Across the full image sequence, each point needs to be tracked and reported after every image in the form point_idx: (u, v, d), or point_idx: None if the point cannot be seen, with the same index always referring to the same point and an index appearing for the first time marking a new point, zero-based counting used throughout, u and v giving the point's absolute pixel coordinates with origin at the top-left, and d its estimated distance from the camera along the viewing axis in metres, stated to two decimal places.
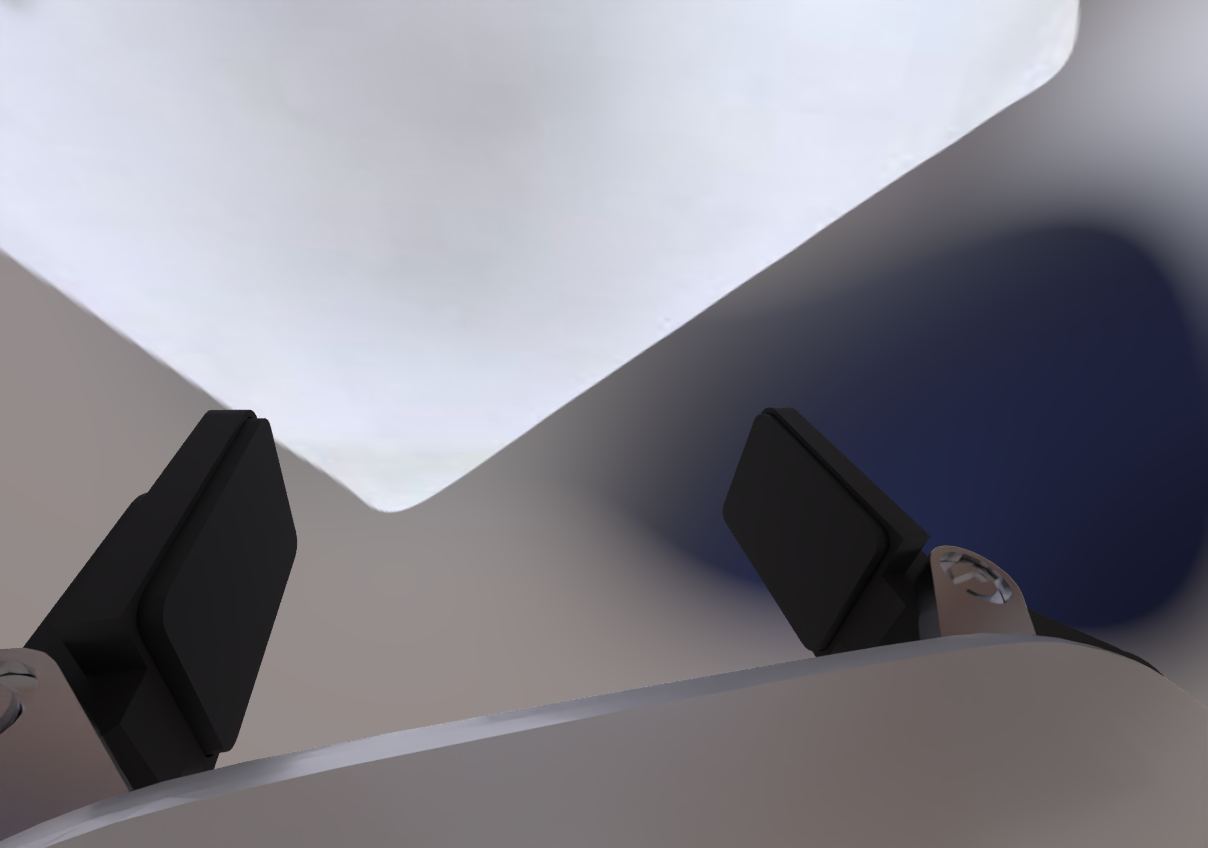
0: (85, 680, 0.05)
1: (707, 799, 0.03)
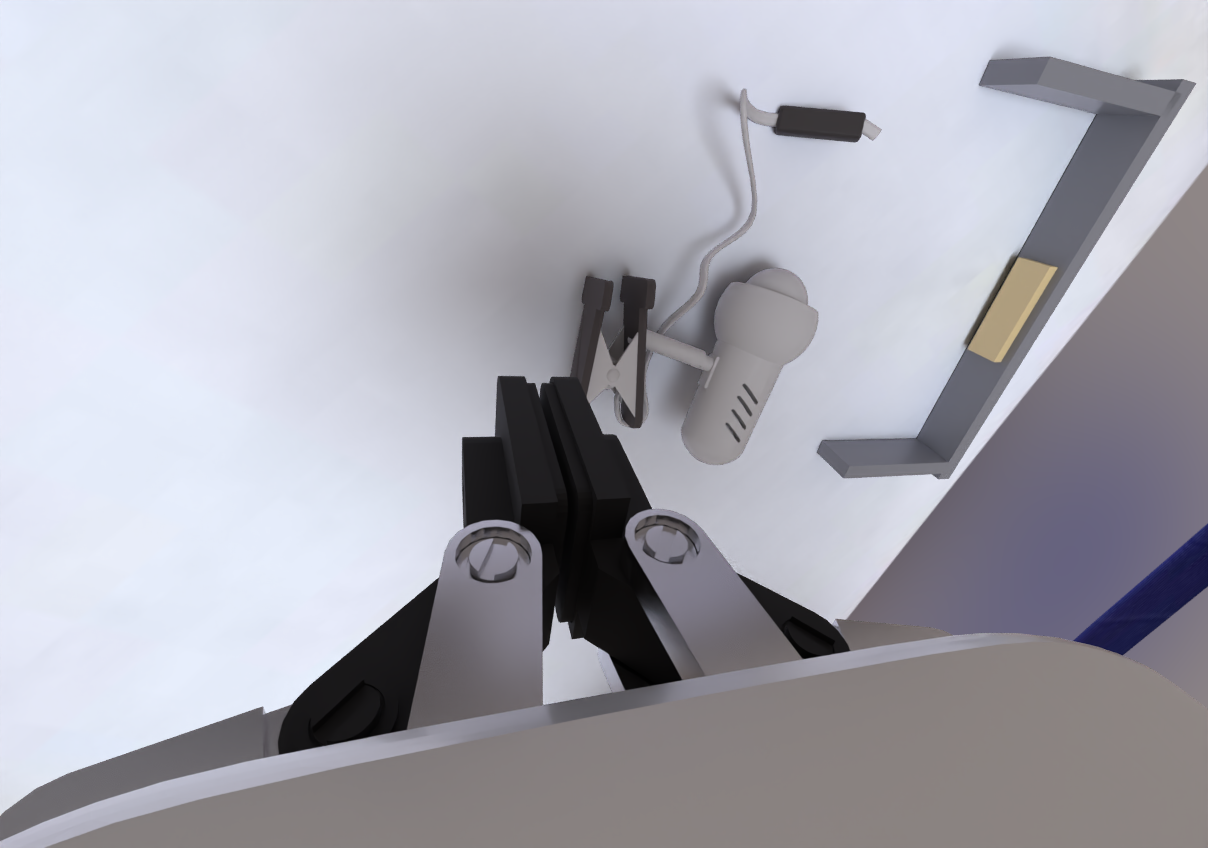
0: None
1: (707, 798, 0.03)
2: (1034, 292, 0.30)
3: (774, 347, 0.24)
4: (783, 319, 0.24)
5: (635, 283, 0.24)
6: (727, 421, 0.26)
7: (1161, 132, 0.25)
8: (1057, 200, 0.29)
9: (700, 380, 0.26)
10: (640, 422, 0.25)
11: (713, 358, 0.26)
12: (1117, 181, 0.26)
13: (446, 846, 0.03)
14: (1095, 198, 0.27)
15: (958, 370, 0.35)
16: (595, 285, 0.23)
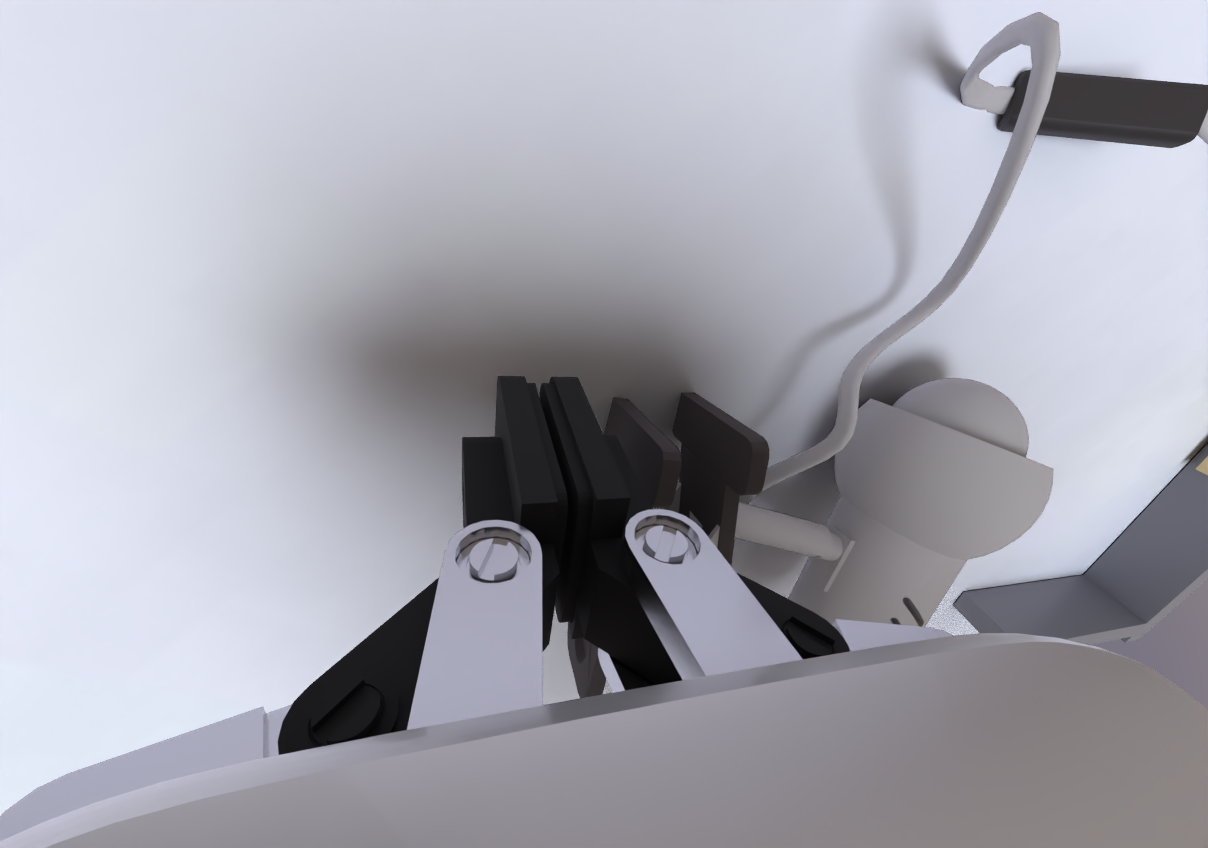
0: None
1: (707, 799, 0.03)
2: None
3: (976, 543, 0.13)
4: (1006, 499, 0.12)
5: (713, 426, 0.12)
6: None
7: None
8: None
9: (812, 571, 0.15)
10: None
11: (841, 539, 0.14)
12: None
13: (446, 846, 0.03)
14: None
15: (1169, 494, 0.23)
16: (636, 437, 0.11)
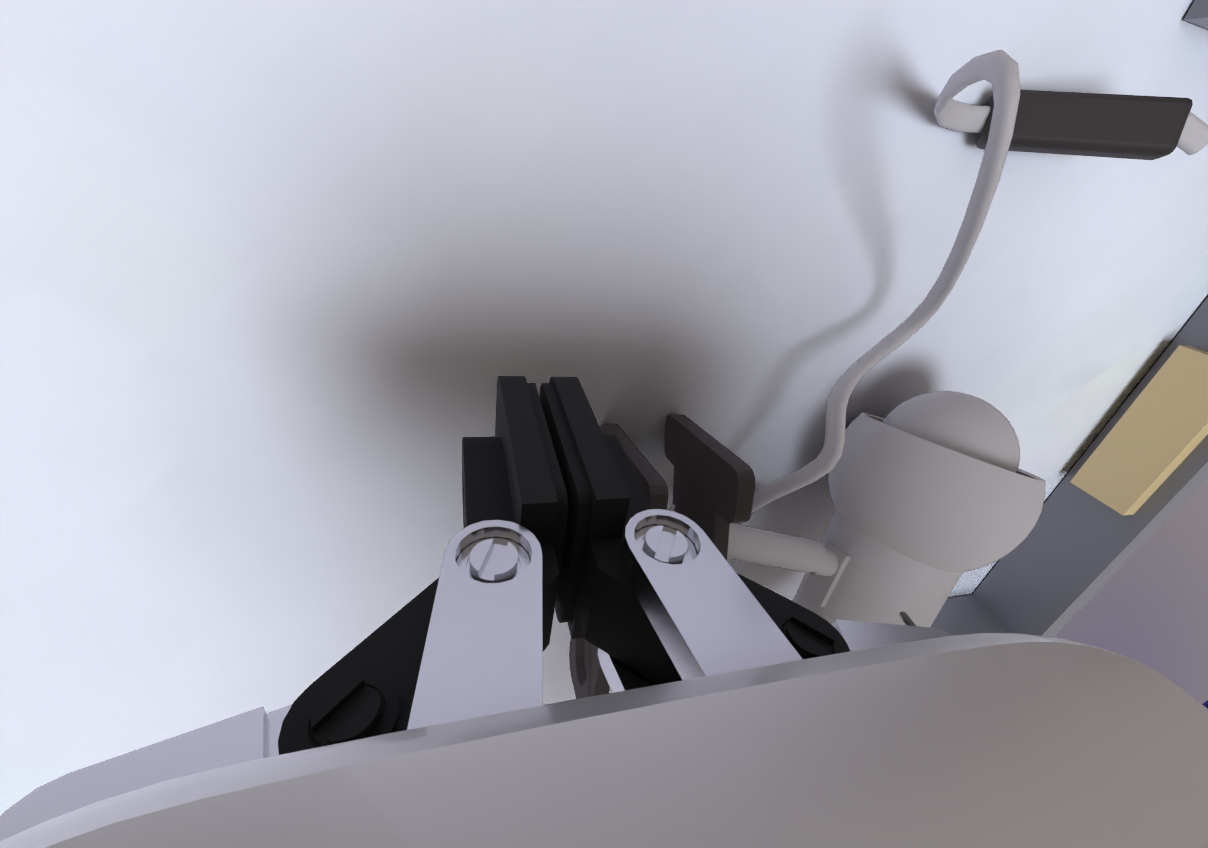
0: None
1: (707, 799, 0.03)
2: None
3: (969, 558, 0.13)
4: (996, 514, 0.12)
5: (701, 453, 0.12)
6: None
7: None
8: None
9: (809, 586, 0.15)
10: None
11: (836, 554, 0.14)
12: None
13: (446, 847, 0.03)
14: None
15: (1049, 508, 0.22)
16: None
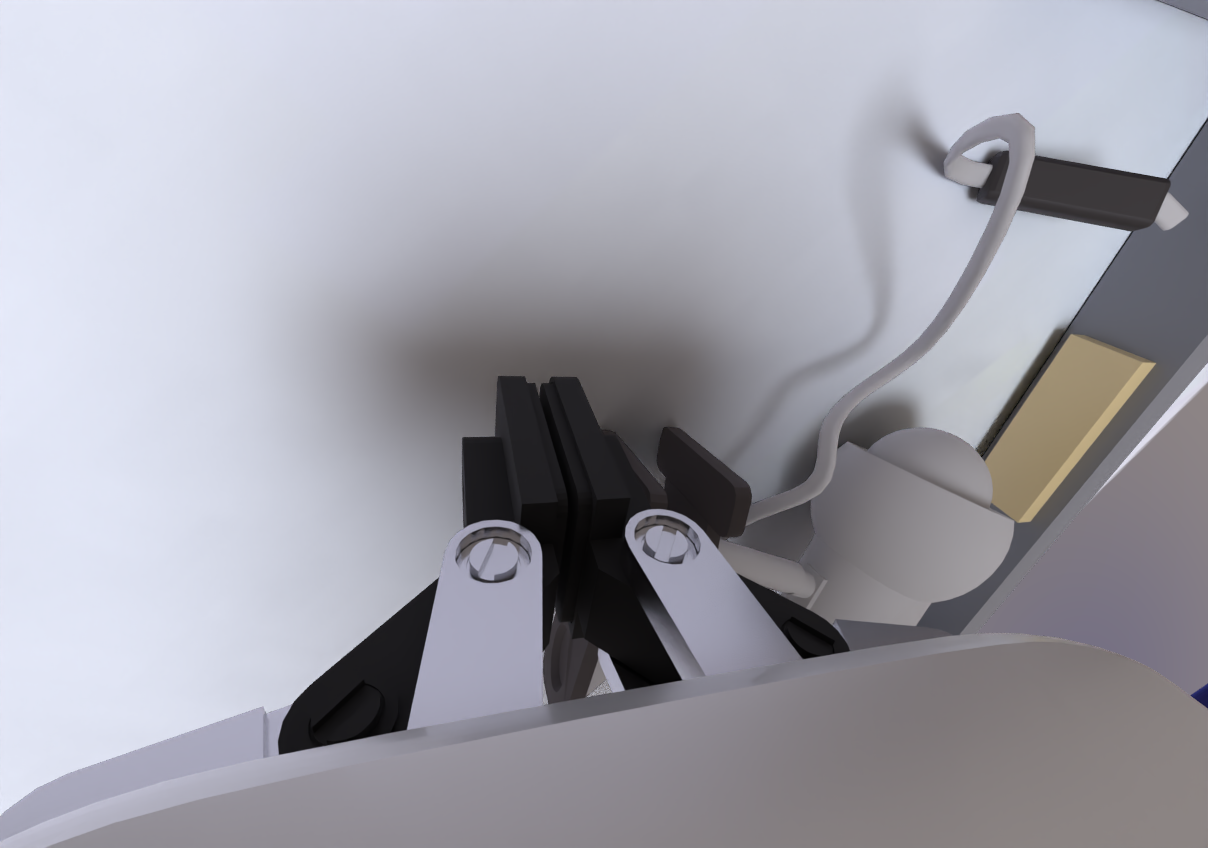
0: None
1: (707, 799, 0.03)
2: (1104, 408, 0.15)
3: (941, 589, 0.13)
4: (970, 549, 0.13)
5: (698, 466, 0.12)
6: None
7: None
8: (1157, 226, 0.14)
9: None
10: None
11: (814, 577, 0.15)
12: None
13: (446, 846, 0.03)
14: None
15: None
16: None
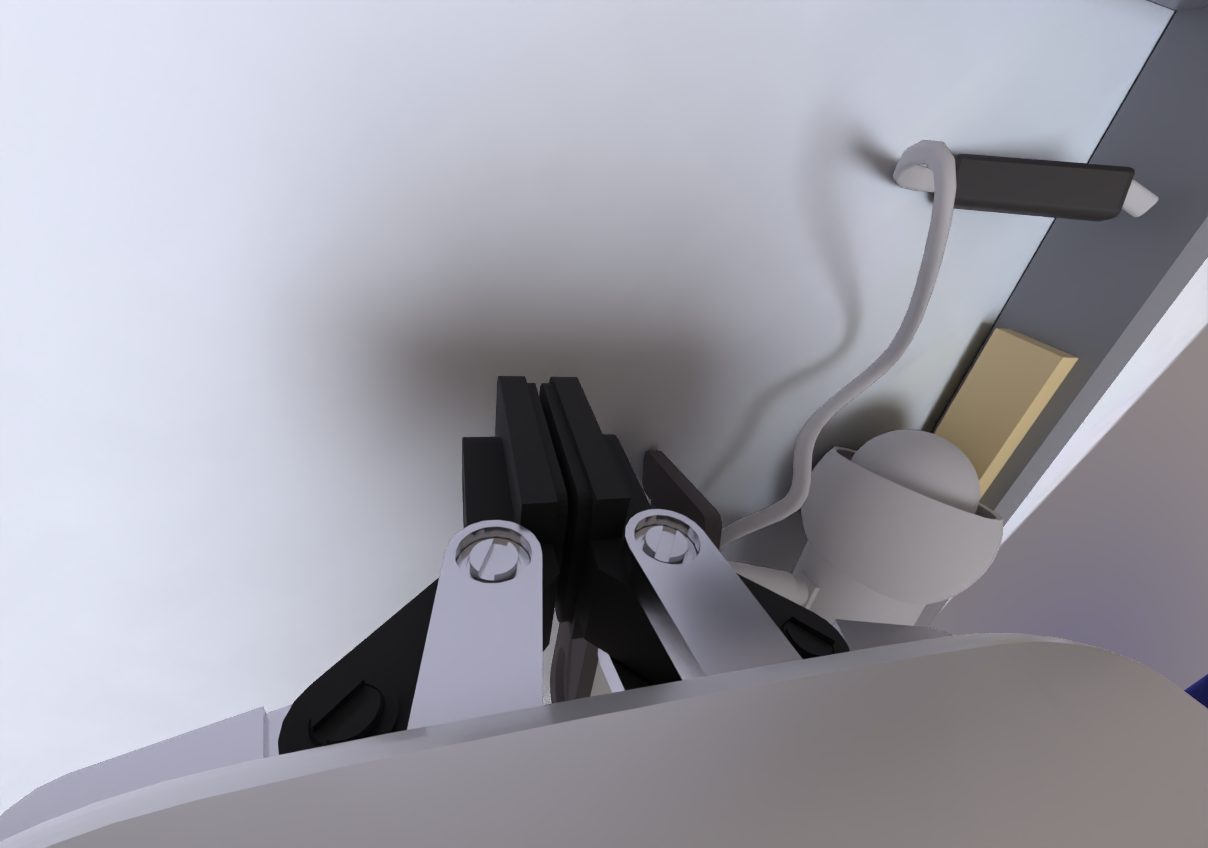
0: None
1: (707, 799, 0.03)
2: (1027, 406, 0.14)
3: (930, 592, 0.13)
4: (954, 553, 0.13)
5: (675, 492, 0.13)
6: None
7: None
8: None
9: None
10: None
11: (807, 585, 0.15)
12: None
13: (446, 846, 0.03)
14: (1171, 211, 0.12)
15: None
16: None
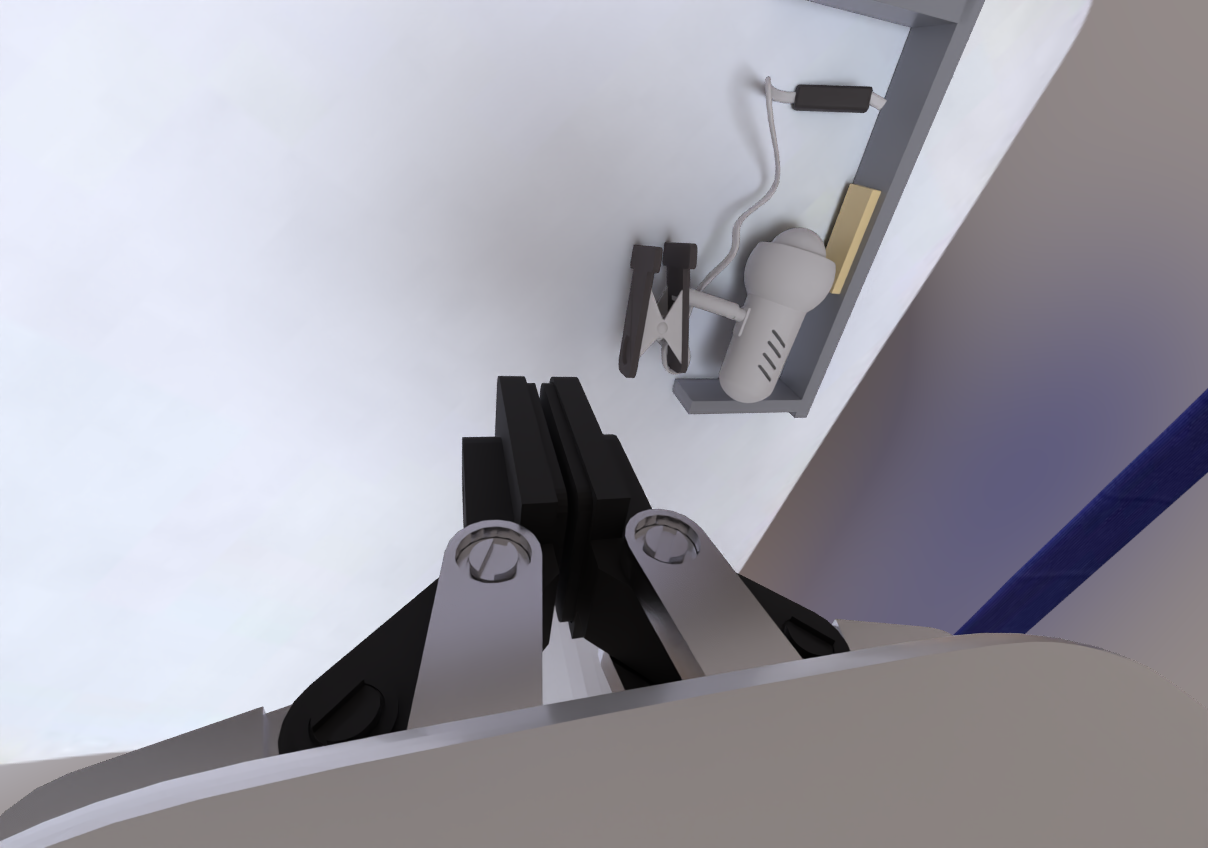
0: None
1: (707, 799, 0.03)
2: (861, 218, 0.29)
3: (798, 296, 0.28)
4: (806, 271, 0.28)
5: (678, 248, 0.28)
6: (759, 363, 0.30)
7: (962, 41, 0.24)
8: (881, 121, 0.28)
9: (734, 330, 0.31)
10: (686, 367, 0.29)
11: (745, 309, 0.30)
12: (925, 96, 0.26)
13: (446, 847, 0.03)
14: (909, 116, 0.27)
15: None
16: (645, 251, 0.27)
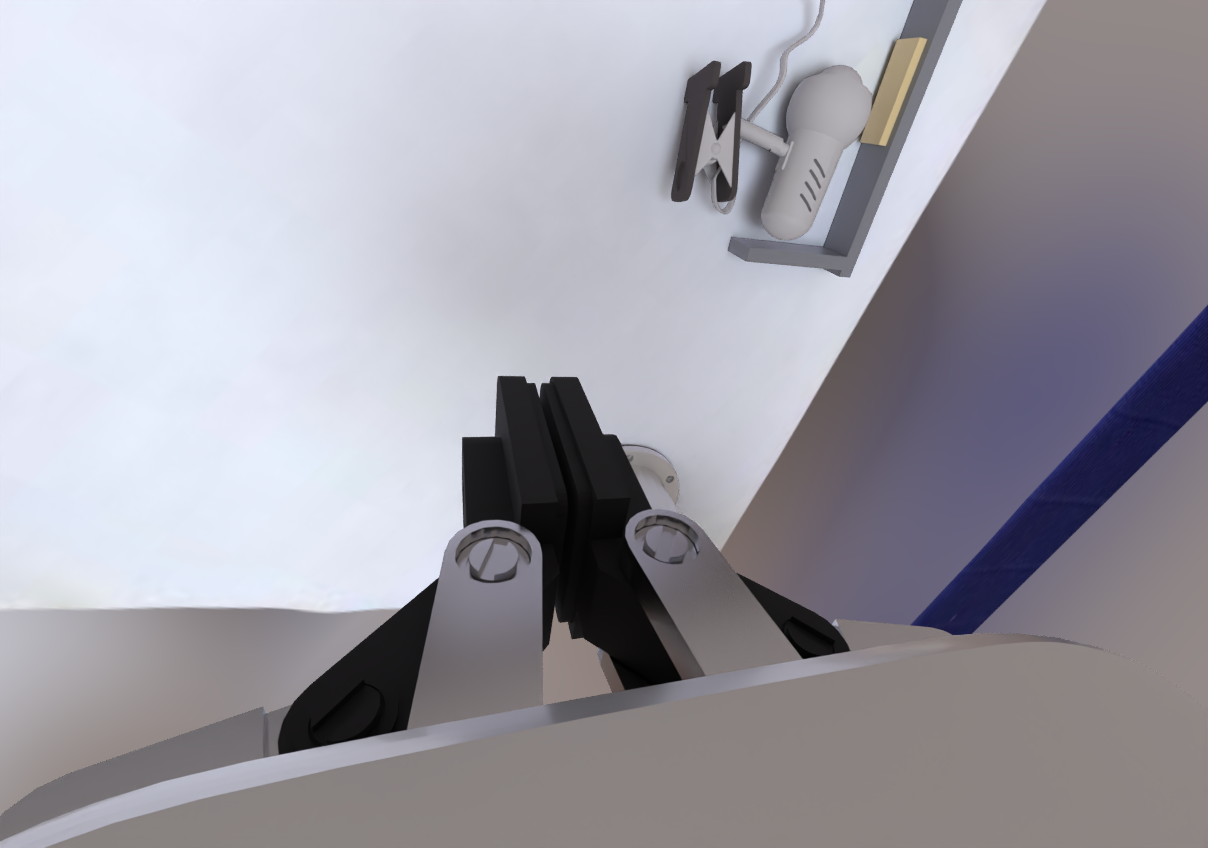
0: None
1: (707, 799, 0.03)
2: (908, 66, 0.33)
3: (839, 123, 0.31)
4: (847, 96, 0.30)
5: (731, 74, 0.31)
6: (801, 192, 0.33)
7: None
8: None
9: (777, 166, 0.34)
10: (735, 191, 0.32)
11: (788, 144, 0.33)
12: None
13: (446, 846, 0.03)
14: None
15: (854, 168, 0.38)
16: (702, 74, 0.30)
